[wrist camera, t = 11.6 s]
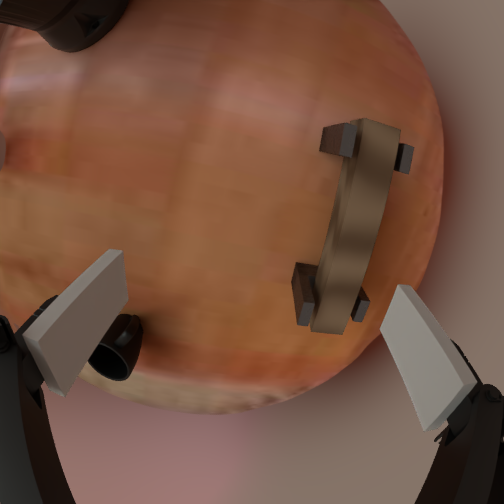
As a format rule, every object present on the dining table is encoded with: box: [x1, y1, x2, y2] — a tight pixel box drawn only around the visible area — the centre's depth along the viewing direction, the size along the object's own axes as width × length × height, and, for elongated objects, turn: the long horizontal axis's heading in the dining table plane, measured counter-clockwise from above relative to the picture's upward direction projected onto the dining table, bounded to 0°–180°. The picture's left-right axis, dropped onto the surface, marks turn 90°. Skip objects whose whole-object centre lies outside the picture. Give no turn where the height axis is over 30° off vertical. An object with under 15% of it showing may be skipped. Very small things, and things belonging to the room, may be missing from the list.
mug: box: [88, 314, 143, 381], centre depth 39 cm, size 8×12×10 cm
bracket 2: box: [291, 263, 370, 326], centre depth 34 cm, size 3×8×10 cm, turn 81°
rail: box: [309, 118, 401, 335], centre depth 29 cm, size 24×4×5 cm, turn 171°
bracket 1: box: [319, 123, 414, 175], centre depth 27 cm, size 3×8×10 cm, turn 81°
